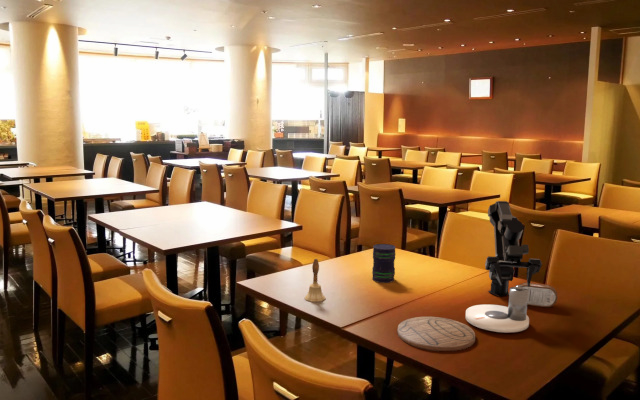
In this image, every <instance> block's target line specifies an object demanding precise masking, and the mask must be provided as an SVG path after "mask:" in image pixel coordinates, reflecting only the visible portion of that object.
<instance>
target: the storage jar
mask: <svg viewBox="0 0 640 400" xmlns="http://www.w3.org/2000/svg"><path fill="white" fill-rule="evenodd" d="M372 246H373V247H372V259H373V263H372V264H373V265H372V269H371V270H372V271H371V274H372V281H373V282H375V283H376V282H377V283H380V284H381V283H382V284H384V283H386V284H389V283H392V282H394V281H395V273H396V272H395V271H396V267H395V261H396V246H395V245H393V244H388V243H377V244H374V245H372Z"/></svg>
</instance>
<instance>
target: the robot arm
mask: <svg viewBox="0 0 640 400" xmlns="http://www.w3.org/2000/svg"><path fill="white" fill-rule="evenodd" d="M487 217H489V222H490V224H491V225H492V226H493V233H494V237H493V238H494V253H495V254H494V255H495V256H491V255H490V256H487V257H486V260H485V263H484V265H485V266H484V267H485V270H486V271H488V277H489V280H490V281H491V282H490V289H489V290H488V293H490V294H492V295H495V296H497V297H505V296H509V292H510V291H509V285H510V284H509V283H510V282H513V280H514V275H515V269H514V268H526V283H527V285H528V287H529V286H530V283H532V282H531V281H532V278H533V275H536V274H537V273H540V272H541V271H540V270H541V268H542V265H543V263H542V260H541V259H540V258H530V257H529V259H528V261H522V260H523V258H524V257H523V256H524V255H528V254H529V253H530V250H529V249H530V248H529V244H522V245H520V239H521V237H522V234H523V231H524V228H525V226H524V224H523V223H522V221H520V220H519V219H518V218H517V216H514V215H513V214H512V211H511V206H510V202H509V201H505V200H497V201H495V202H494V203H493V204H490V205H489V207H488V209H487Z"/></svg>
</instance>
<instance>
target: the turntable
mask: <svg viewBox="0 0 640 400" xmlns="http://www.w3.org/2000/svg"><path fill="white" fill-rule="evenodd" d="M465 320H466V321H467V322H468V324H470V325H472V326H474V327H477V328H479V329H482V330H485V331H490V332H496V333H519V332H523V331H526V330H527V329H528V328H529V326H530V318H529V316H528V315H527V314H526V320H524V321H516V320H512V319H510V318H508V306H505V305H501V304H500V305H499V304H476V305H472V306H470V307H468V308H466V310H465Z"/></svg>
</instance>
